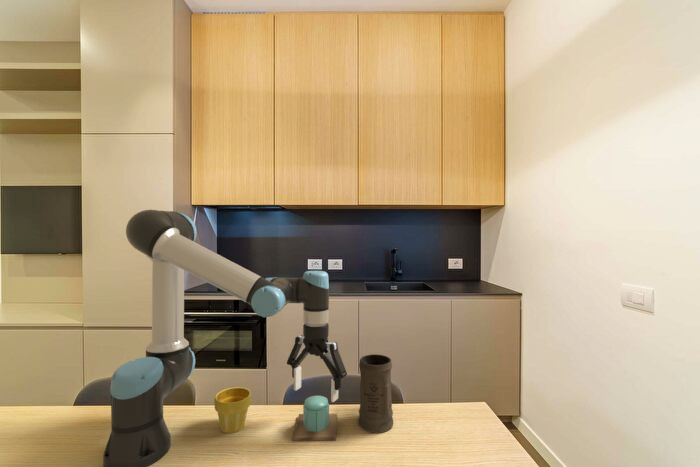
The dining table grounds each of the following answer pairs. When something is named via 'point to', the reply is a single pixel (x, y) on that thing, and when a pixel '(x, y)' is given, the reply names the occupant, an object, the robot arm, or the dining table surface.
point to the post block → (323, 435)
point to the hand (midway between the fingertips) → (315, 394)
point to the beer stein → (375, 394)
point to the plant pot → (232, 408)
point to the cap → (316, 413)
